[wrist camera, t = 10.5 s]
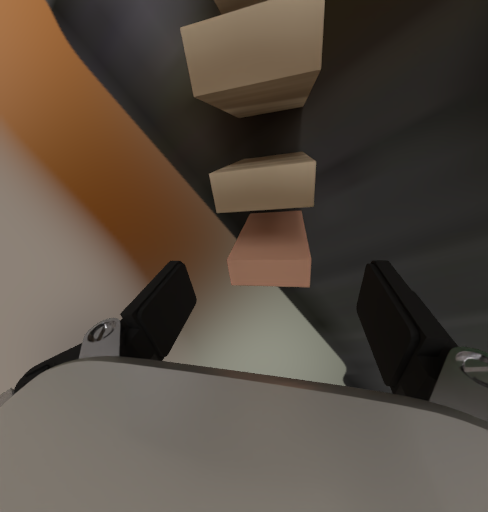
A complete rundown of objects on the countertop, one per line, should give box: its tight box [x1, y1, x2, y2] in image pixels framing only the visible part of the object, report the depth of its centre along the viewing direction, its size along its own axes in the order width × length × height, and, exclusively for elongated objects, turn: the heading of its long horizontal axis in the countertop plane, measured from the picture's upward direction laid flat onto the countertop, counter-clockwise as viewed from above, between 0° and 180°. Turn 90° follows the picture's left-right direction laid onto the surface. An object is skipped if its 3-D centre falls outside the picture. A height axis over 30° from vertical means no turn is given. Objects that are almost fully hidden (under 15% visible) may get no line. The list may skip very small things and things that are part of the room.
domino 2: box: [209, 152, 316, 213], centre depth 13 cm, size 2×5×9 cm, turn 97°
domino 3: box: [227, 211, 311, 287], centre depth 16 cm, size 2×5×9 cm, turn 97°
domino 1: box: [180, 0, 325, 118], centre depth 11 cm, size 2×5×9 cm, turn 98°
